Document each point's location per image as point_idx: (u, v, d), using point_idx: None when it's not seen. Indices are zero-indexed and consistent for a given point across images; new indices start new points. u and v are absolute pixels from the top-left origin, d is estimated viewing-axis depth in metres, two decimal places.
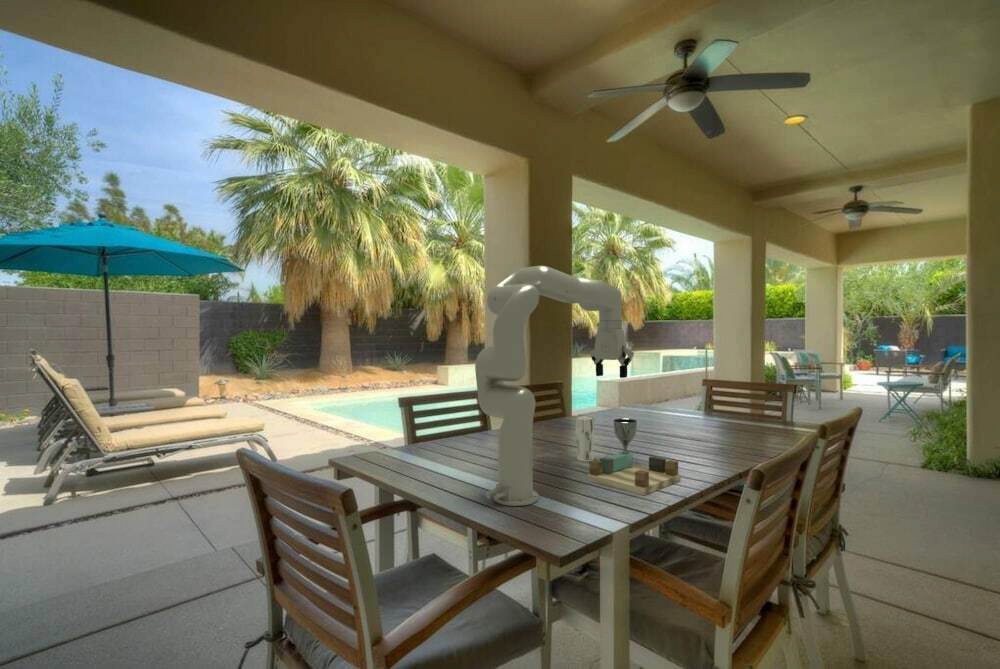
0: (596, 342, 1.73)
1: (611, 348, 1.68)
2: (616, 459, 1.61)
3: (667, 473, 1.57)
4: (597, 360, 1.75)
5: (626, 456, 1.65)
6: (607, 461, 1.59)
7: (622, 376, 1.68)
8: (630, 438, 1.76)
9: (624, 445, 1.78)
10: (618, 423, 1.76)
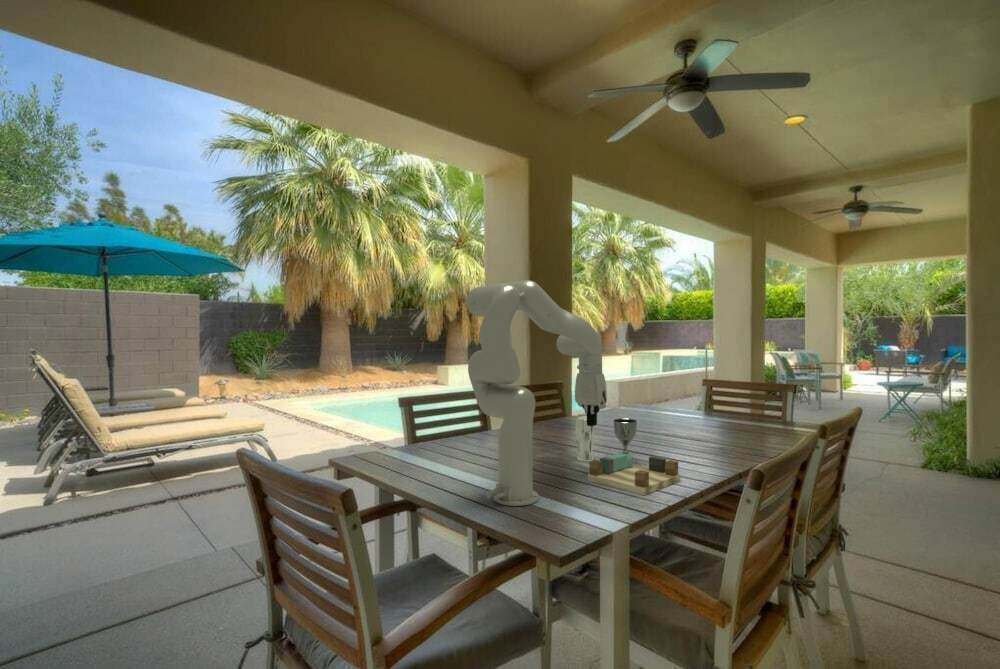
0: (576, 386, 1.68)
1: (591, 393, 1.63)
2: (616, 459, 1.61)
3: (667, 473, 1.57)
4: (586, 407, 1.67)
5: (626, 456, 1.65)
6: (607, 461, 1.59)
7: (592, 424, 1.65)
8: (630, 438, 1.76)
9: (624, 445, 1.78)
10: (618, 423, 1.76)
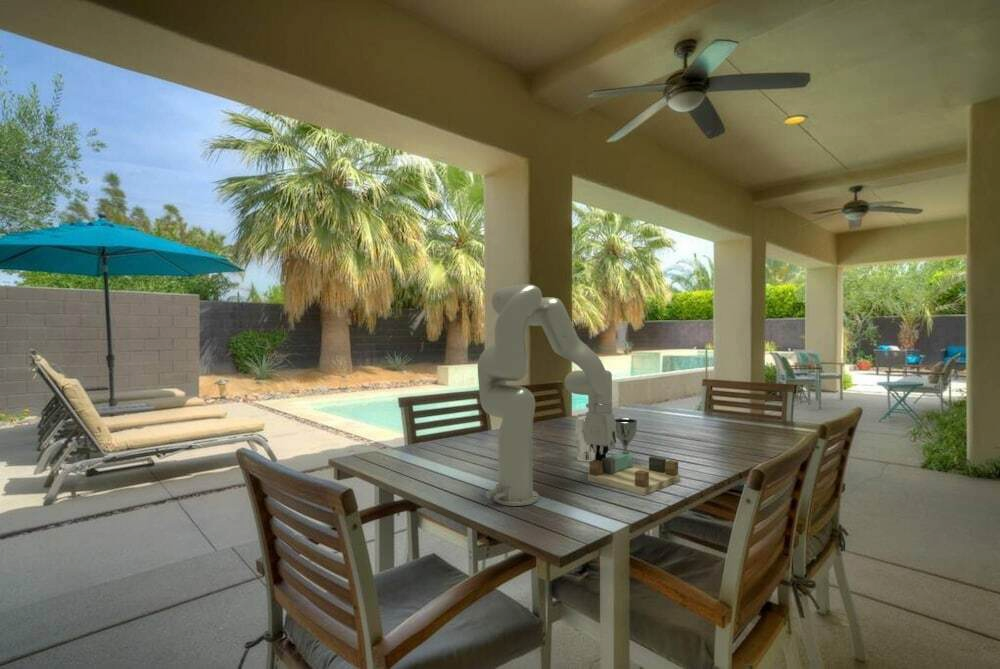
0: (585, 425, 1.65)
1: (601, 433, 1.60)
2: (617, 459, 1.61)
3: (667, 473, 1.57)
4: (594, 447, 1.64)
5: (626, 456, 1.65)
6: (609, 461, 1.58)
7: None
8: (630, 438, 1.76)
9: (624, 445, 1.78)
10: (618, 423, 1.76)
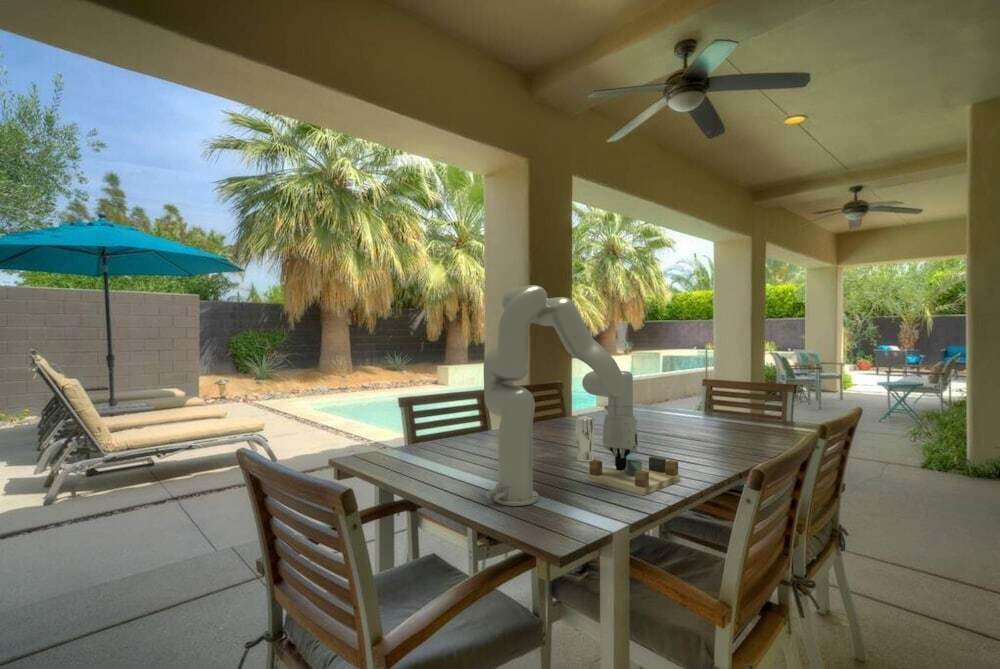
0: (605, 428, 1.59)
1: (623, 436, 1.55)
2: None
3: (667, 473, 1.57)
4: (615, 451, 1.59)
5: None
6: (640, 463, 1.56)
7: (621, 469, 1.58)
8: None
9: None
10: None
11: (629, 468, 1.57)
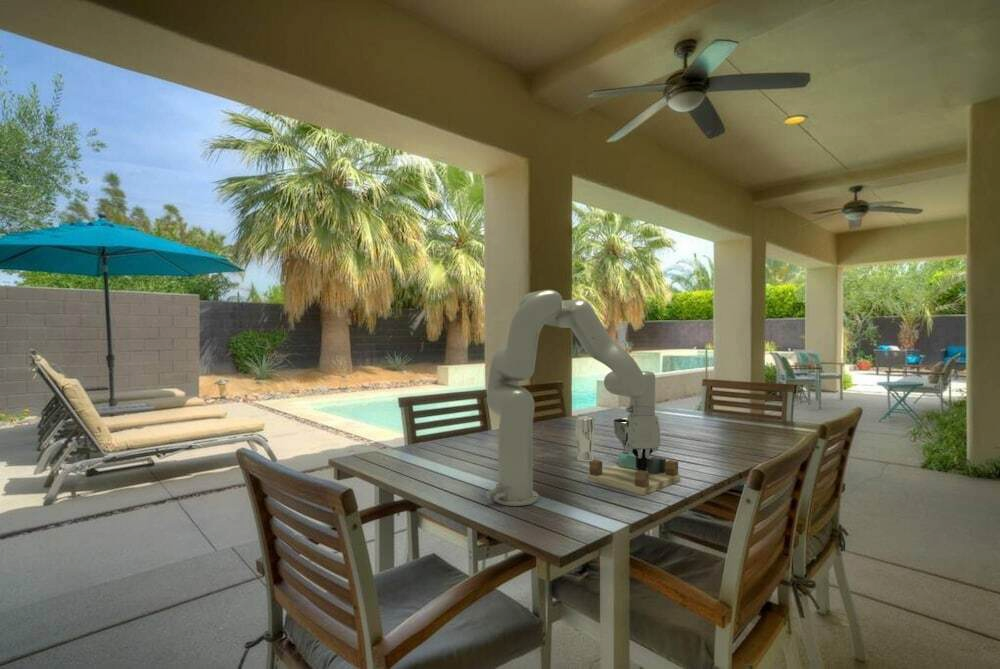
0: (633, 430, 1.55)
1: (653, 436, 1.56)
2: None
3: (667, 473, 1.57)
4: (640, 452, 1.57)
5: None
6: (659, 460, 1.59)
7: None
8: None
9: (624, 445, 1.78)
10: (618, 423, 1.76)
11: (650, 466, 1.58)
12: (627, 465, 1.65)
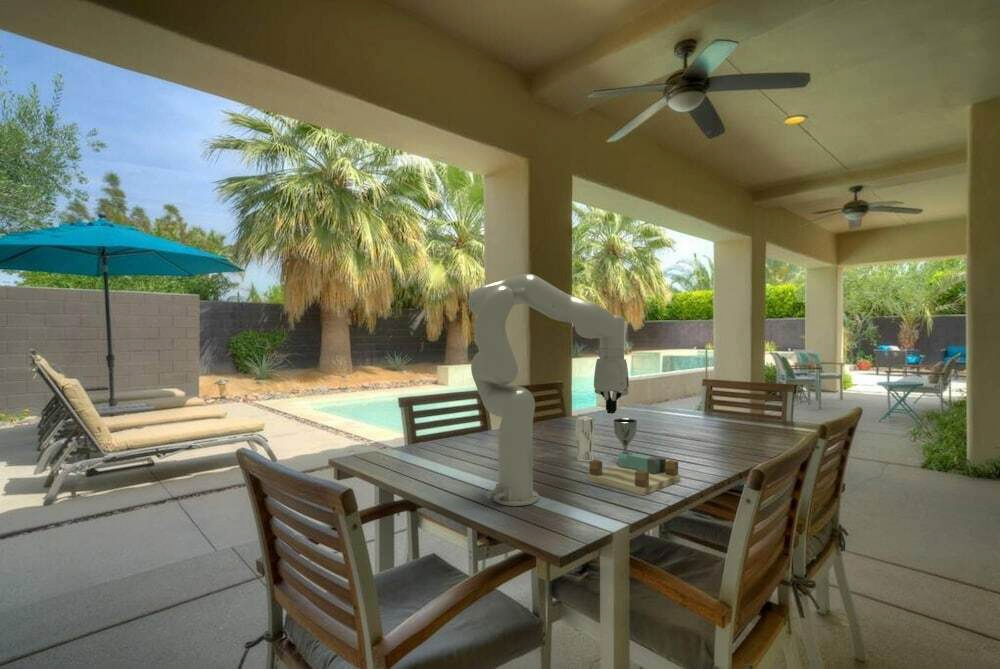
0: (596, 372, 1.60)
1: (615, 379, 1.57)
2: None
3: (667, 473, 1.57)
4: (606, 394, 1.60)
5: None
6: (659, 460, 1.59)
7: (612, 412, 1.59)
8: (630, 438, 1.76)
9: (624, 445, 1.78)
10: (618, 423, 1.76)
11: (650, 466, 1.58)
12: (627, 465, 1.65)
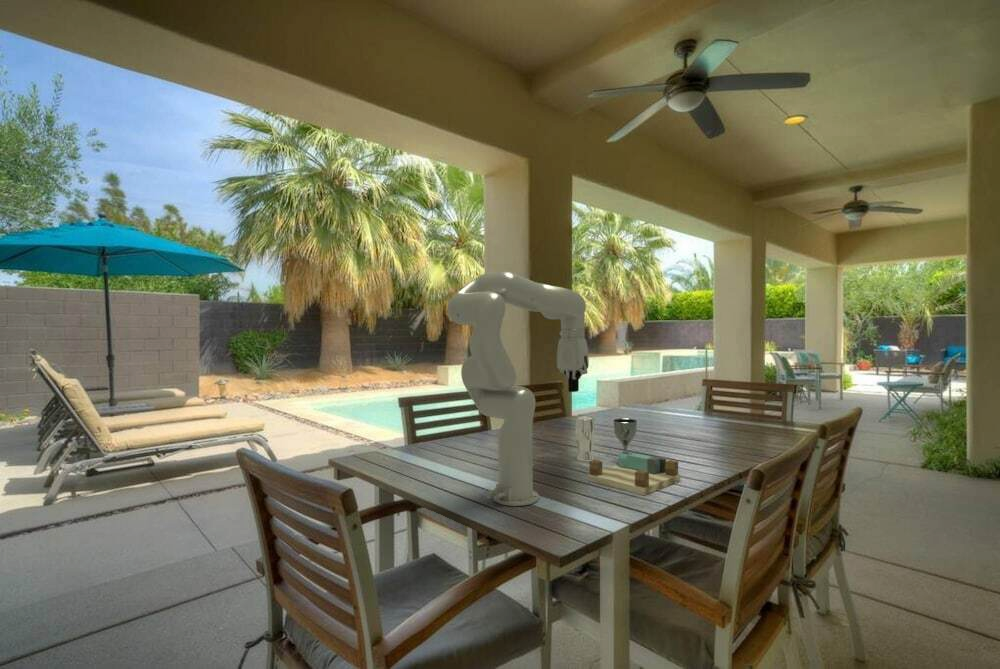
0: (558, 351, 1.66)
1: (572, 358, 1.62)
2: None
3: (667, 473, 1.57)
4: (567, 373, 1.65)
5: None
6: (659, 460, 1.59)
7: (573, 390, 1.64)
8: (630, 438, 1.76)
9: (624, 445, 1.78)
10: (618, 423, 1.76)
11: (650, 466, 1.58)
12: (627, 465, 1.65)
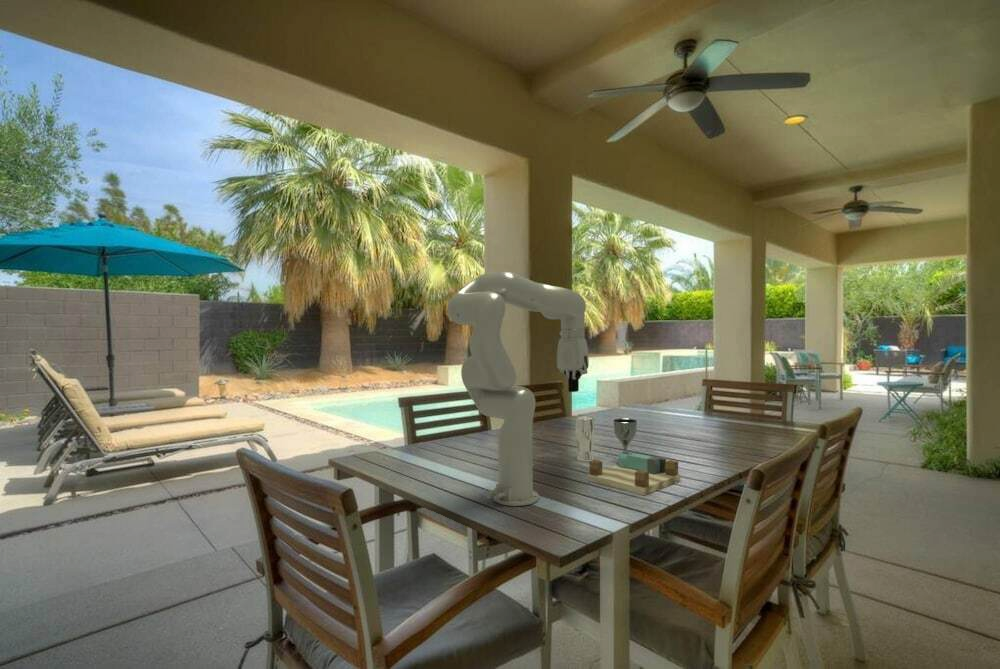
0: (558, 351, 1.66)
1: (572, 358, 1.62)
2: None
3: (667, 473, 1.57)
4: (567, 373, 1.65)
5: None
6: (659, 460, 1.59)
7: (573, 390, 1.64)
8: (630, 438, 1.76)
9: (624, 445, 1.78)
10: (618, 423, 1.76)
11: (650, 466, 1.58)
12: (627, 465, 1.65)
